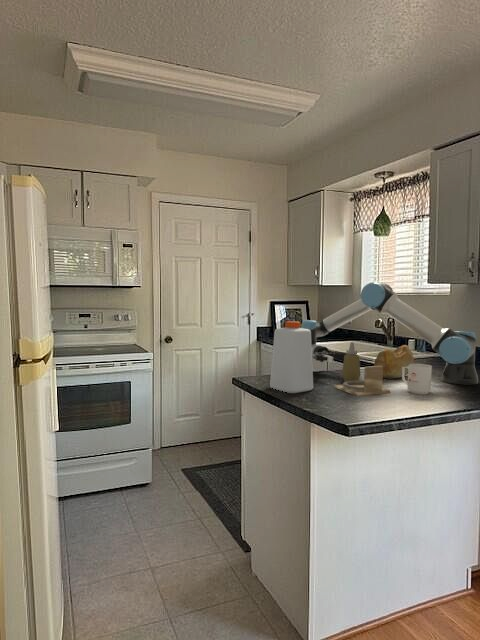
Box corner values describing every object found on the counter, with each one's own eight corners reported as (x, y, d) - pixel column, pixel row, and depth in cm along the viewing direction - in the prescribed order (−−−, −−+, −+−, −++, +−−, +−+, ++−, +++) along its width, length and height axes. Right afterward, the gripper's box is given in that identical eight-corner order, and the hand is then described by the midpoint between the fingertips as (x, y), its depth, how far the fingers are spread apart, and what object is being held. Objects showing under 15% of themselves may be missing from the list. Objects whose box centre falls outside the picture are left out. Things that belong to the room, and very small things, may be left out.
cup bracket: (333, 387, 190) (334, 361, 189) (364, 384, 196) (365, 359, 195) (357, 395, 175) (358, 368, 174) (390, 392, 181) (391, 365, 180)
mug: (434, 392, 182) (435, 365, 182) (424, 395, 177) (425, 368, 176) (407, 387, 192) (408, 361, 191) (396, 390, 186) (397, 363, 185)
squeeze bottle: (350, 384, 196) (351, 343, 195) (338, 381, 203) (339, 341, 202) (364, 382, 200) (365, 342, 199) (351, 379, 207) (352, 340, 206)
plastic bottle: (265, 387, 187) (266, 321, 185) (291, 383, 196) (293, 320, 194) (290, 395, 175) (292, 323, 173) (317, 390, 184) (319, 322, 182)
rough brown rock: (390, 372, 231) (388, 343, 231) (419, 374, 218) (418, 344, 218) (361, 378, 218) (359, 348, 217) (391, 381, 204) (389, 349, 204)
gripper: (339, 359, 229) (366, 365, 210) (297, 361, 219) (321, 368, 200) (339, 344, 229) (367, 349, 209) (297, 346, 219) (322, 352, 199)
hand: (344, 359), depth 205 cm, fingers open, 13 cm apart
